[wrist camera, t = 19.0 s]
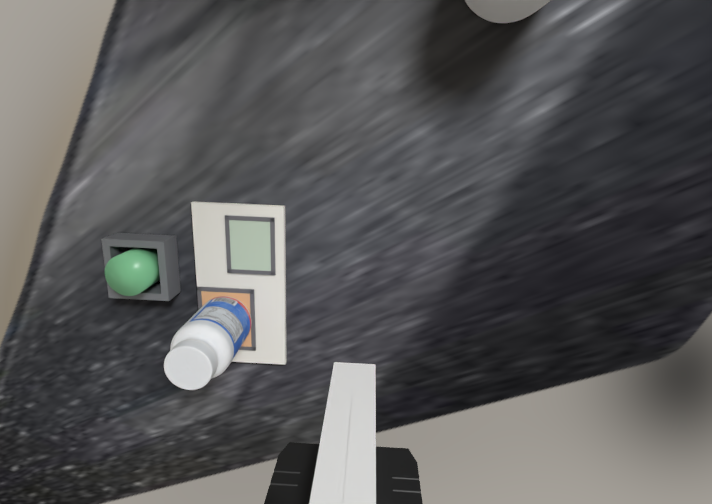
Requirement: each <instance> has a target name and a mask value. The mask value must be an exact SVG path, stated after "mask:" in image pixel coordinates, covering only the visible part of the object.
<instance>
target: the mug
mask: <svg viewBox="0 0 712 504" xmlns="http://www.w3.org/2000/svg"><path fill="white" fill-rule="evenodd" d="M549 1H551V0H465V2H466V4H467V5H468V6H469V8H470V9H471V10H472V11H473V12H474V13H475V14H477V15H478V16H479V17H481V18H483V19H485V20H487V21H490V22H494V23H511V22H515V21H519V20H522V19H524V18H526V17H528V16H530V15H531V14H533V13H535V12H536V11H538V10H539V9H540V8H542V7H543V6H544V5H545V4H547V3H548V2H549Z"/></svg>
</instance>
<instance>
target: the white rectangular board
mask: <svg viewBox="0 0 712 504" xmlns="http://www.w3.org/2000/svg"><path fill="white" fill-rule="evenodd" d="M191 208H192V222H193V237H194V251H195V266H196V280H197V295H198V310H199V309H200V308H201V307H202V306H203V305H204V304H205V303H207V302H208V301H209V300H211V299H213V298H215V297H219V296H228V297H233V298H235V299H237V300H239V301H241V302H242V303H243V304H244V305H245V306H246V307H247V309H248V311H249V313H250V315H251V320H252V324H251V329H250V332H249V334H248V336H247V337H246V339H245V341H244V342H243V344H242V345H241V347H240V349H239V350H238V352H237V353H236V355H235V357H234V358H233V360H232V361H231V362H247V363H265V364H283V365H285V364H286V245H285V206H283V205H261V204H238V203H216V202H191Z"/></svg>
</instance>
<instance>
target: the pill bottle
mask: <svg viewBox="0 0 712 504" xmlns="http://www.w3.org/2000/svg"><path fill="white" fill-rule="evenodd" d="M251 324H252V320H251V315H250V313H249V311H248V309H247V307H246V306H245V305H244V304H243V303H242V302H241V301H239V300H237V299H235V298H233V297H228V296H219V297H215V298H213V299H211V300H209V301H208V302H207V303H205V304H204V305H203V306H202V307H201V308H200V309H199V310H198V311H197V312H196V313H195V314H194V315H193V316H192V317H191V318H190V319H189V320H188V321H187V322H186V323H185V324H184V325H183V326H182V327H181V328H180V329H179V330H178V331H177V333H176V334H175V335H174V337H173V339H172V342H171V347H170V352H169V353H168V354H167V356H166V358H165V361H164V370H165V373H166V376H167V377H168V379H169V380H170V381H171V382H172V383H173V384H174V385H176V386H178V387H180V388H182V389H186V390H196V389H199V388H202V387H204V386H205V385H206V384H207V383H208V382H209V381H210V380H211V378H214V377H217V376H219V375H220V374H222V373H223V372H224V371H225V370H226V369H227V368H228V366H229V365H230V363H231V361H232V360H233V358H234V357H235V355H236V353H237V352H238V350H239V349H240V347H241V345H242V344H243V342H244V341H245V339H246V337H247V336H248V334H249V332H250V329H251Z"/></svg>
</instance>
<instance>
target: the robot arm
mask: <svg viewBox="0 0 712 504" xmlns="http://www.w3.org/2000/svg"><path fill="white" fill-rule="evenodd" d="M264 504H422V497H421V489H420V481H419V474H418V466H417V462H416V460H415V459H414V457H413V455H412V454H411V452H410V451H409V449H405V448H389V447H376V393H375V364H357V363H339V362H334V366H333V372H332V378H331V383H330V389H329V395H328V400H327V406H326V411H325V417H324V423H323V428H322V434H321V440H320V444H306V443H289V444H288V445H287V446H286V447H285V448H284V450H283V451H282V452H281V453H280V454H279V456H278V459H277V463H276V466H275V469H274V473H273V476H272V479H271V484H270V486H269V489H268V493H267V496H266V499H265V503H264Z"/></svg>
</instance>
